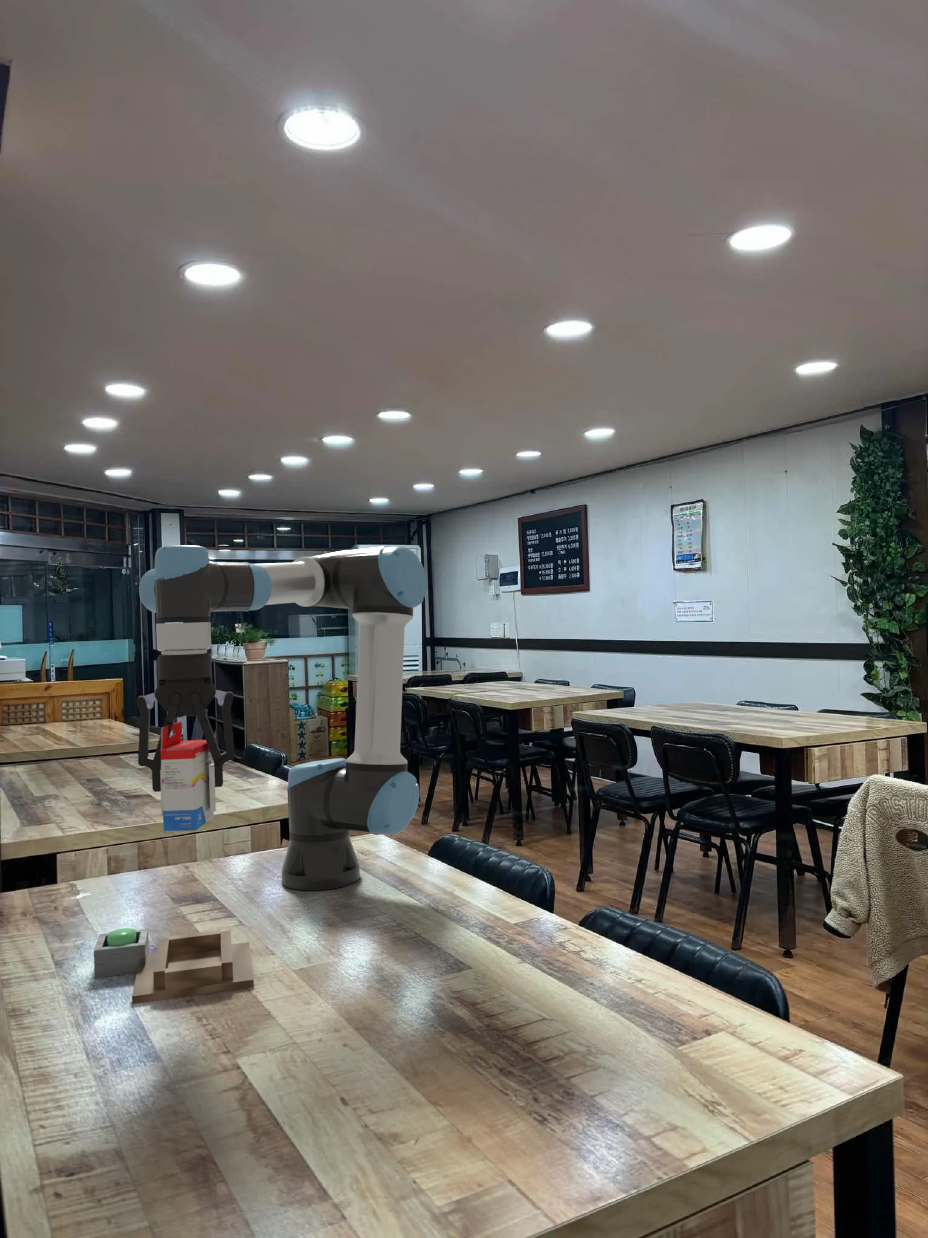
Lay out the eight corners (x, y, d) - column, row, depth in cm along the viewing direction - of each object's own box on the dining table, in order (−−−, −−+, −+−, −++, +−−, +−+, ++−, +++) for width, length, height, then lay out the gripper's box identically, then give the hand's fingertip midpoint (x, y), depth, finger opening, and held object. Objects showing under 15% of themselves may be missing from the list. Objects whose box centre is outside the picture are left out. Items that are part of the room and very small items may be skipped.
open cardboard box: (249, 948, 139) (248, 926, 139) (253, 986, 124) (253, 962, 124) (140, 962, 134) (139, 939, 134) (132, 1003, 120) (131, 978, 120)
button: (137, 945, 136) (136, 927, 136) (135, 954, 132) (134, 936, 132) (109, 948, 134) (108, 930, 134) (106, 958, 131) (105, 939, 131)
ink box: (196, 831, 125) (193, 727, 125) (162, 832, 125) (158, 728, 125) (215, 817, 133) (211, 719, 133) (182, 818, 133) (179, 720, 133)
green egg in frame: (148, 954, 137) (148, 928, 137) (145, 971, 131) (144, 944, 131) (100, 960, 136) (99, 934, 135) (94, 978, 129) (93, 951, 129)
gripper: (250, 649, 135) (254, 801, 135) (117, 654, 130) (121, 812, 130) (252, 650, 128) (257, 811, 128) (111, 656, 123) (116, 823, 123)
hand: (189, 811), depth 129 cm, fingers closed on ink box, 6 cm apart
